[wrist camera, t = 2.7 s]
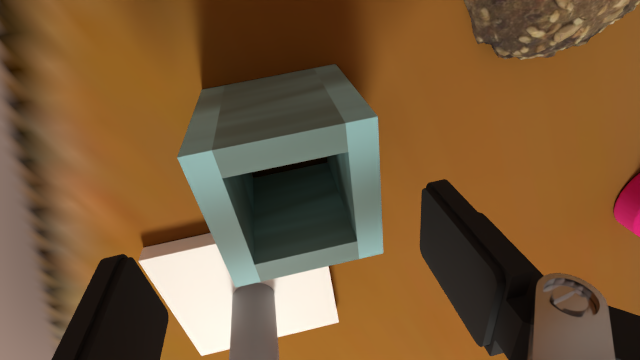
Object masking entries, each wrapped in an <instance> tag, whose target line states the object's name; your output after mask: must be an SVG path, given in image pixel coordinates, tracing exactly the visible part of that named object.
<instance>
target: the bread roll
mask: <svg viewBox="0 0 640 360" xmlns="http://www.w3.org/2000/svg"><path fill="white" fill-rule="evenodd" d="M464 2H465V4H466V7H467V9H468V11H469V14H470V17H471V22H472V28H473V33H474V36H475V39H476V41H477V43H478V44H479V43H486V44H491V45H492V48H493V50H494V52H495V53H496V55H497V56H498V57H502V58H504V59H508V58H512V57H517V58H519V59H520V60H522V59H531V58H535V57H552V56H554V55H555V53H556V52H557V51H558V50H564V49H568V48H569V47H571V46H580V45H583V44H586V43H587V42H588V40H589V39H590V38H591V37H592V36H594V35H595V34H597V33H601V32H602V31H603V30H604V29H605V28H606V27H607V25H610V24H613V23H614V22H615V21H617V20H619V19H621V18H622V17H623V16H624V15H625V14H627V13H629V12H631V11H633V10H634V9H635V7H636V5H638V4H639V3H640V0H464Z"/></svg>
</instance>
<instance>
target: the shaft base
mask: <svg viewBox="0 0 640 360" xmlns="http://www.w3.org/2000/svg"><path fill="white" fill-rule="evenodd" d="M139 263H140V264H141V266H142V267H143V269H144V270H145V272H146V273H147V275H148V276H149V278H150V279H151V281H152V282H153V284H154V285H155V287H156V288H157V290H158V291H159V293H160V294H161V296H162V297H163V299H164V300H165V302H166V303H167V305H168V306H169V308H170V309H171V311H172V312H173V314H174V315H175V317H176V318H177V320H178V321H179V323H180V324H181V326H182V327H183V329H184V330H185V332H186V333H187V335H188V336H189V338H190V339H191V341H192V342H193V344H194V345H195V347H196V348H197V350H198V351H199V353H200V354H201V356H203V355H207V354H211V353H215V352H219V351H223V350H227V349H230V355H229V360H279V350H278V337H281V336H285V335H289V334H293V333H297V332H301V331H305V330H309V329H313V328H318V327H322V326H326V325H330V324H334V323H338V322H339V321H338V315H337V310H336V304H335V299H334V293H333V288H332V283H331V277H330V272H329V266H326V267H322V268H318V269H314V270H309V271H305V272H301V273H296V274H292V275H288V276H283V277H279V278H275V279H270V280H266V281H262V282H258V283H253V284H249V285H245V286H240V287H236V288H235V285H234V283H233V281H232V279H231V276H230V274H229V272H228V270H227V267H226V265H225V263H224V261H223V259H222V256H221V254H220V252H219V250H218V247H217V245H216V243H215V241H214V238H213V236H212V234H211V233H208V234H203V235H199V236H194V237H190V238H185V239H181V240H176V241H172V242H167V243H163V244H158V245H153V246H149V247H144V248H143V250H142V252H141V255H140V258H139Z"/></svg>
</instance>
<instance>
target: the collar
mask: <svg viewBox="0 0 640 360" xmlns="http://www.w3.org/2000/svg"><path fill="white" fill-rule="evenodd" d="M322 157H327V163H323V164H318V165H313V166H308V167H304V168H299V169H294V170H289V171H285V172H280V173H275V174H270V175H266V176H261V177H256V178H253V176H252V173H251V172H255V171H260V170H265V169H270V168H274V167H279V166H284V165H289V164H293V163H298V162H303V161H308V160H312V159H317V158H322ZM177 158H178V160H179V163H180V165H181V167H182V169H183V172H184V174H185V176H186V178H187V180H188V183H189V185H190V187H191V189H192V192H193V194H194V196H195V198H196V201H197V203H198V205H199V207H200V209H201V212H202V214H203V216H204V218H205V221H206V223H207V225H208V227H209V230H210V232H211V234H212V236H213V238H214V241H215V243H216V245H217V247H218V250H219V252H220V254H221V256H222V259H223V261H224V263H225V265H226V267H227V270H228V272H229V274H230V276H231V279H232V281H233V283H234V285H235V288H236V287H240V286H245V285H249V284H253V283H258V282H262V281H266V280H270V279H275V278H279V277H283V276H288V275H292V274H296V273H301V272H305V271H309V270H314V269H318V268H322V267H326V266H331V265H335V264H339V263H344V262H348V261H352V260H357V259H361V258H365V257H369V256H374V255H378V254H382V253H383V234H382V209H381V184H380V159H379V134H378V116H377V115H376V114H375V112H374V111H373V110H372V109H371V107H370V106H369V105H368V104H367V102H366V101H365V100H364V99H363V97H362V96H361V95H360V94H359V92H358V91H357V90H356V89H355V87H354V86H353V85H352V84H351V83H350V81H349V80H348V79H347V78H346V76H345V75H344V74H343V73H342V71H341V70H340V69H339V68H338V66H337V65H336V64H333V65H328V66H323V67H317V68H312V69H307V70H302V71H297V72H291V73H286V74H281V75H276V76H271V77H265V78H260V79H255V80H250V81H245V82H239V83H234V84H229V85H224V86H219V87H213V88H208V89H203V90H202V91H201V93H200V96H199V99H198V102H197V104H196V107H195V110H194V113H193V115H192V118H191V121H190V124H189V126H188V129H187V132H186V135H185V137H184V140H183V143H182V146H181V148H180V151H179V154H178V157H177Z"/></svg>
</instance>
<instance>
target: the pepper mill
mask: <svg viewBox="0 0 640 360" xmlns="http://www.w3.org/2000/svg"><path fill="white" fill-rule="evenodd" d="M614 216H615V218H616V220H617V221H618V222H619V223H620V224H622V225H623V226H625V227H626V228H627V229H629V230H630V231H632V232H633V233H634V234H636V235H637V236H639V237H640V173H639V174H638V175H637V176H635V177H634V178H633V179H632V180H631V181H630V182H629V183H628V184H627V185H626V187H625V188H624V189H623V190H622V192H621V193H620V195H619V197H618V199H617V201H616V203H615V207H614Z"/></svg>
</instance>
